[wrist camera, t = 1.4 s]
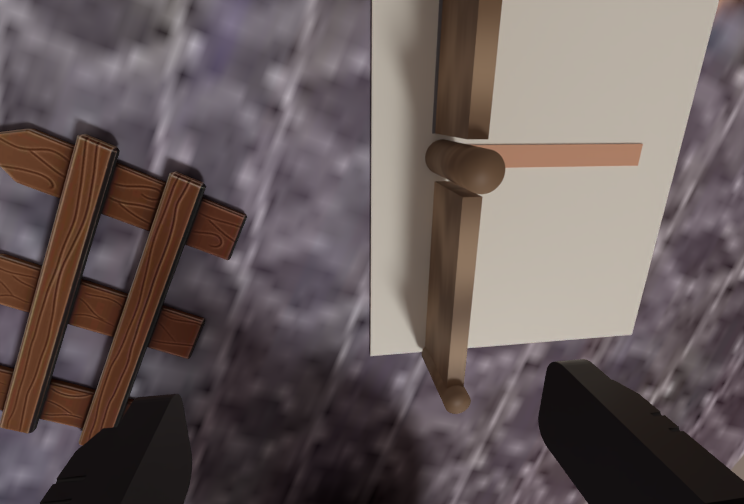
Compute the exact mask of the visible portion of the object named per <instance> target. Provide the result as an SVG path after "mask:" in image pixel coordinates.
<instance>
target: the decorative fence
mask: <svg viewBox="0 0 744 504" xmlns="http://www.w3.org/2000/svg"><path fill="white" fill-rule="evenodd" d="M119 152H120V151H119V149H118V148H117V147H116V146H113V145H111V144H108V143H106V142H104V141H101V140H99V139H96V138H94V137H92V136H89V135H87V134H81V135H78V136H77V140H76V143H75V145H73V144H70V143H68V142H65V141H63V140H60V139H58V138H56V137H53V136H51V135H48V134H46V133H43V132H41V131H38V130H36V129H22V130H14V131H5V132H0V167H1V168H2V169H3V170H4V171H5V172H6V173H7V174H8V175H9V176H10V177H11V178H12V179H13V180H14V181H16V182H17V183H20V184H22V185H25V186H28V187H30V188H33V189H36V190H39V191H41V192H44V193H47V194H49V195H52V196H55V197H58V198H60V203H59V206H58V210H57V214H56V217H55V221H54V225H53V229H52V232H51V236H50V240H49V243H48V247H47V251H46V254H45V258H44V262H43V265H42V266H41V265H37V264H34V263H31V262H28V261H25V260H22V259H19V258H16V257H13V256H10V255H6V254H0V304H1V305H5V306H8V307H12V308H15V309H19V310H22V311H25V312H29V313H30V314H29V317H28V321H27V325H26V328H25V332H24V336H23V339H22V343H21V347H20V351H19V354H18V358H17V362H16V365H15V369H13V368H9V367H5V366H1V365H0V410H3V413H2V417H1V421H0V427H1V428H5V429H10V430H15V431H19V432H24V433H31V432H33V431H34V430H35V429H36V427H37V424H38V421H39V419H43V420H48V421H52V422H57V423H61V424H65V425H70V426H74V427H78V428H83V430H82V433H81V436H80V439H79V444H80V445H84V444H85V443H86V442H88V441H89V440H90V439H91V438H92V437H93V436H95V435H96V434H97V433H98V432H99V431H101V430H102V429H103V428H112V427H117V426H118V424H119V422H120V421H121V419H122V418H123V416H124V414H125V413H126V411H127V410H128V408H129V406H130V405H131V403H132V402H133V401H134V399H130V398H129V395H130V392H131V390H132V387H133V384H134V381H135V379H136V376H137V373H138V370H139V368H140V365H141V362H142V360H143V357H144V354H145V351H146V349H147V347H149V348H152V349H156V350H159V351H163V352H166V353H169V354H173V355H176V356H180V357H183V358H187V359H189V358H190V357H191V355H192V352H193V350H194V347H195V345H196V342H197V340H198V337H199V335H200V332H201V330H202V327H203V325H204V322H205V319H204V318H201V317H198V316H195V315H192V314H189V313H186V312H183V311H180V310H177V309H174V308H171V307H167V306H164V305H163V302H164V300H165V297H166V294H167V292H168V289H169V286H170V283H171V281H172V278H173V275H174V272H175V270H176V267H177V264H178V262H179V259H180V256H181V253H182V251H183V248H184V245H188V246H190V247H193V248H196V249H199V250H201V251H204V252H207V253H209V254H212V255H215V256H218V257H220V258H223V259H226V260H229V259H230V258H231V255H232V253H233V250H234V248H235V245H236V243H237V241H238V238H239V236H240V233H241V231H242V228H243V226H244V223H245V221H246V218H247V216H246V215H245V214H243V213H240V212H238V211H235V210H233V209H230V208H228V207H226V206H223V205H221V204H218V203H216V202H213V201H211V200H208V199H206V198H203V197H202V196H203V193H204V191H205V188H206V186H205V184H204V183H202V182H200V181H197V180H195V179H193V178H190V177H188V176H185V175H183V174H181V173H178V172H172V173H170V174H169V177H168V180H167V183H166V182H164V181H161V180H159V179H157V178H154V177H152V176H149V175H147V174H144V173H142V172H139V171H137V170H134V169H132V168H129V167H127V166H125V165H122V164H120V163H117V158H118V155H119ZM101 214H104V215H106V216H109V217H112V218H115V219H117V220H120V221H123V222H125V223H128V224H131V225H134V226H136V227H139V228H142V229H144V230H147V231H150V233H149V236H148V239H147V242H146V245H145V248H144V251H143V254H142V257H141V260H140V262H139V265H138V268H137V271H136V274H135V277H134V280H133V283H132V286H131V289H130V292H129V294H127V293H124V292H121V291H118V290H115V289H112V288H109V287H106V286H102V285H99V284H96V283H93V282H90V281H87V280H84V279H81V278H82V275H83V271H84V268H85V265H86V261H87V258H88V255H89V251H90V248H91V245H92V241H93V238H94V235H95V231H96V228H97V225H98V222H99V218H100V215H101ZM67 324H70V325H73V326H77V327H80V328H84V329H87V330H91V331H94V332H97V333H101V334H104V335H108V336H111V337H114V339H113V342H112V345H111V348H110V351H109V354H108V357H107V360H106V363H105V366H104V369H103V371H102V374H101V377H100V380H99V383H98V386H97V389H96V390H95V389H91V388H87V387H83V386H79V385H75V384H71V383H68V382H64V381H60V380H56V379H52V374H53V371H54V368H55V364H56V361H57V358H58V354H59V351H60V348H61V344H62V341H63V338H64V334H65V331H66V328H67Z"/></svg>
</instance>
